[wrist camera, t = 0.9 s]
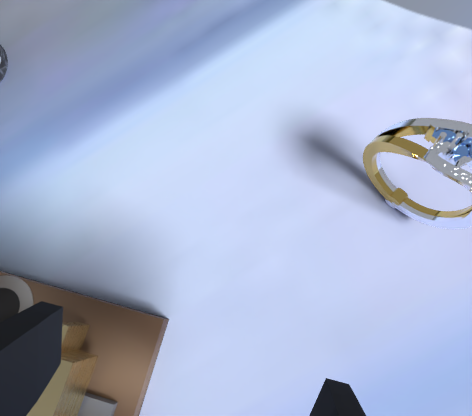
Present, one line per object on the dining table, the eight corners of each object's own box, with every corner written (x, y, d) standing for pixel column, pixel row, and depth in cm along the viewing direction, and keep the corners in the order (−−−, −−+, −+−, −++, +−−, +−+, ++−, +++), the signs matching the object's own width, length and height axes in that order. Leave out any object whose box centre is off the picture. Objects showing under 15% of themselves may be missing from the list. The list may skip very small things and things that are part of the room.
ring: (337, 180, 23) (387, 113, 16) (368, 151, 24) (431, 74, 16) (419, 255, 22) (518, 222, 14) (449, 222, 22) (560, 173, 15)
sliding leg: (64, 461, 17) (21, 498, 13) (7, 443, 17) (-48, 474, 14) (110, 331, 19) (83, 334, 15) (59, 316, 19) (21, 316, 15)
